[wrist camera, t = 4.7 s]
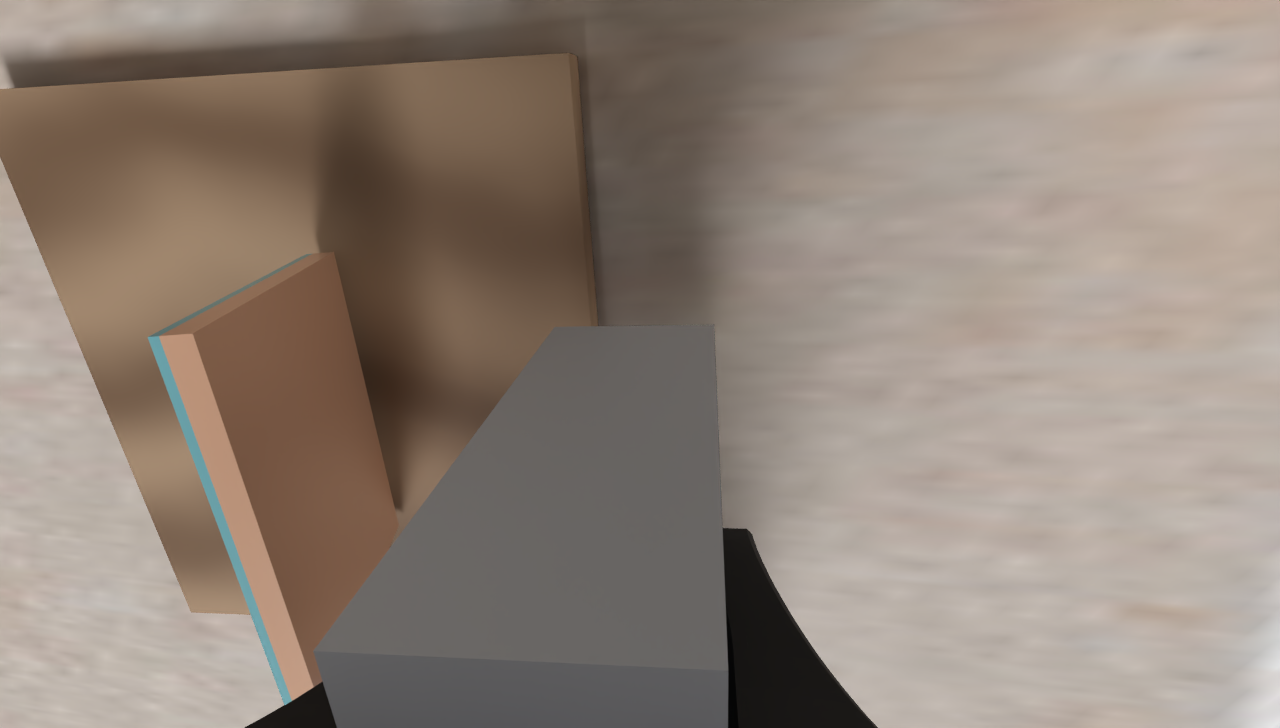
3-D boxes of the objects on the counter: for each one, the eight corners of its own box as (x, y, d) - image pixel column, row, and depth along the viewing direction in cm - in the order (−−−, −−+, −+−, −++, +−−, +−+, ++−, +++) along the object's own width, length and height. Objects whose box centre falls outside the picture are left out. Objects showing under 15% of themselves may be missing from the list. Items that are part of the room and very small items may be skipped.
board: (620, 606, 25) (616, 629, 24) (212, 591, 27) (191, 612, 26) (577, 56, 17) (568, 53, 16) (14, 92, 19) (-28, 90, 18)
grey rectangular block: (715, 616, 16) (725, 1148, 8) (583, 611, 16) (457, 1113, 8) (714, 324, 13) (728, 670, 5) (554, 326, 14) (313, 650, 5)
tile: (322, 711, 15) (288, 716, 15) (398, 525, 22) (376, 527, 22) (192, 333, 12) (147, 337, 11) (334, 251, 19) (306, 254, 18)
